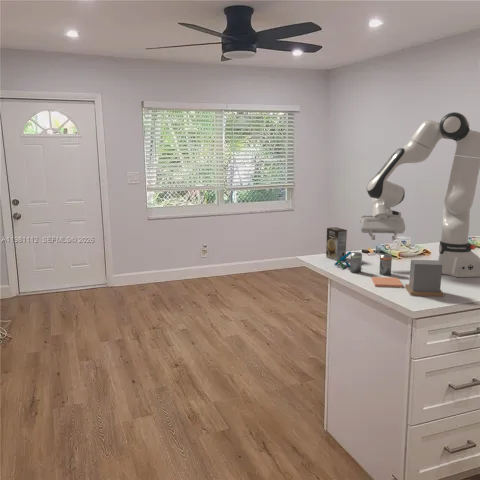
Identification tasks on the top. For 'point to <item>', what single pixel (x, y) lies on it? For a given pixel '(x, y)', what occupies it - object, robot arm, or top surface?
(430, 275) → the block
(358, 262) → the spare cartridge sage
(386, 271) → the terracotta cartridge
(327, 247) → the coffee box
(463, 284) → the top surface
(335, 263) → the blue toy figure
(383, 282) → the mat
